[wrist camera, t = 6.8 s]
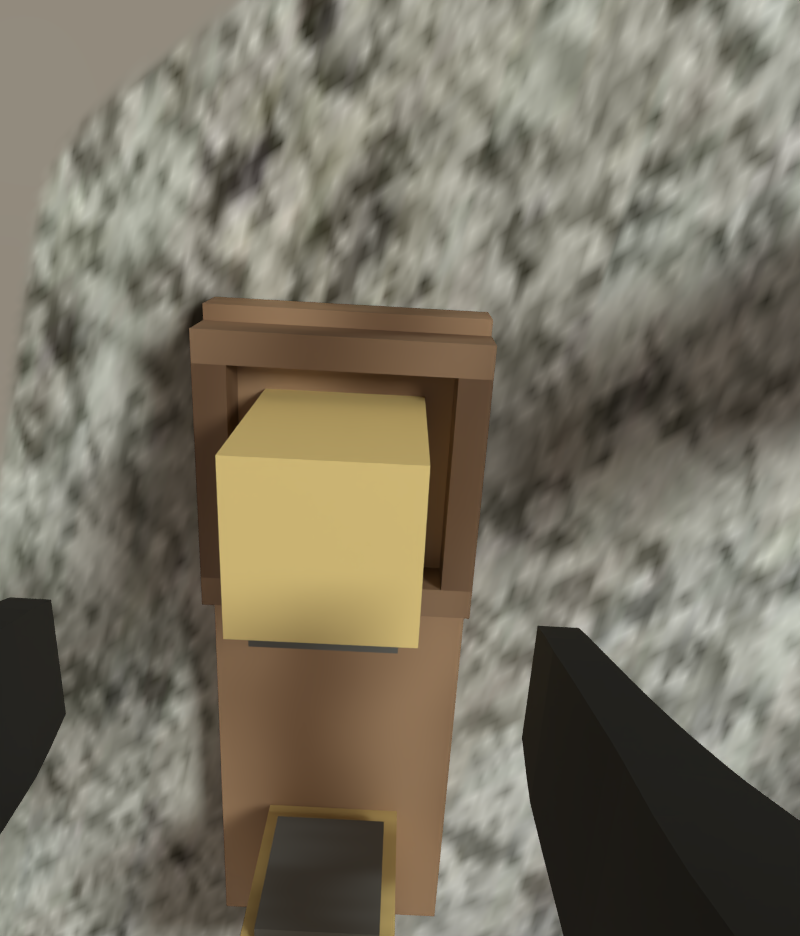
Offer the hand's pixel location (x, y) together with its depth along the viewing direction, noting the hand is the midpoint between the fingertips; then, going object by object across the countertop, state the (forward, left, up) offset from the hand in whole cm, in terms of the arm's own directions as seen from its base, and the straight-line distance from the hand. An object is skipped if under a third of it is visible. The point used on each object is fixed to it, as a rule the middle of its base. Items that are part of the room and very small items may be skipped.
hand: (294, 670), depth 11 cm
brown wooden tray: (0, +6, -10) cm, 11 cm away
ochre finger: (0, 0, -9) cm, 9 cm away
